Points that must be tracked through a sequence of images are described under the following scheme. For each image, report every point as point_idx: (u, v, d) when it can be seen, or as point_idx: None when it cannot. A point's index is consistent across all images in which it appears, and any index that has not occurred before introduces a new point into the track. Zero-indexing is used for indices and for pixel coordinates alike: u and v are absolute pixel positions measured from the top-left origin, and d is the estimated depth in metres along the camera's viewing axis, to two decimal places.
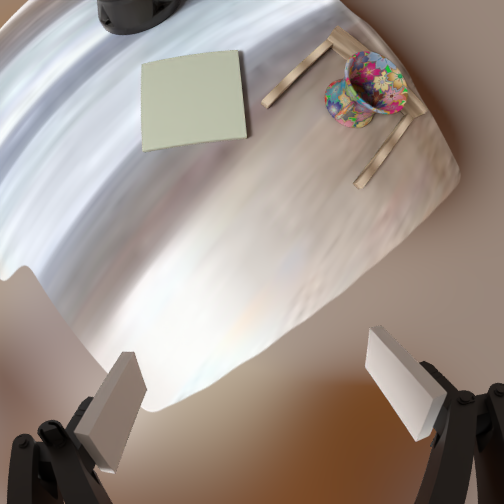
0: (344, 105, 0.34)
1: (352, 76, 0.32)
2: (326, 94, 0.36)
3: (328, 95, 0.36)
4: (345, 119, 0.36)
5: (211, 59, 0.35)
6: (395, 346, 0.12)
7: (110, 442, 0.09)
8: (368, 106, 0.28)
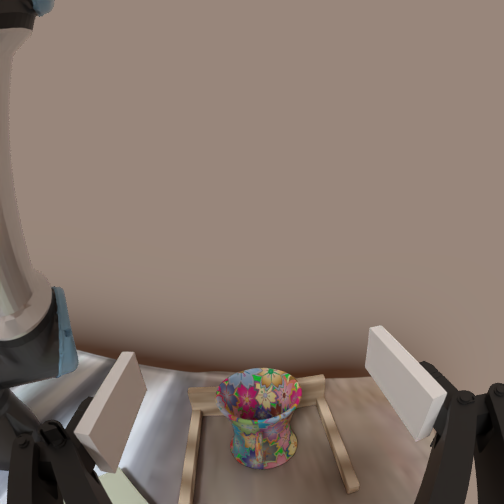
0: None
1: (238, 417, 0.29)
2: (235, 456, 0.27)
3: (237, 455, 0.27)
4: (274, 459, 0.26)
5: None
6: (395, 346, 0.12)
7: (110, 442, 0.09)
8: (273, 419, 0.23)
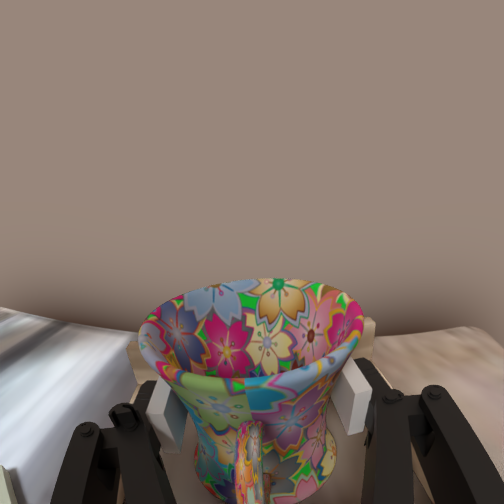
0: None
1: None
2: (202, 479, 0.11)
3: (205, 477, 0.11)
4: (290, 489, 0.10)
5: None
6: None
7: (176, 421, 0.10)
8: (296, 374, 0.07)
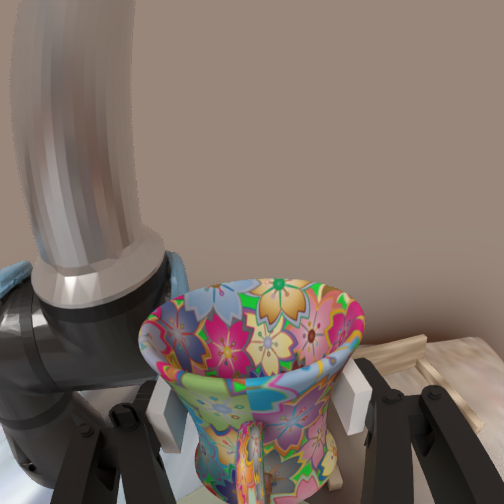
0: None
1: None
2: (202, 479, 0.11)
3: (206, 478, 0.11)
4: (290, 489, 0.10)
5: None
6: None
7: (176, 421, 0.10)
8: (297, 375, 0.07)
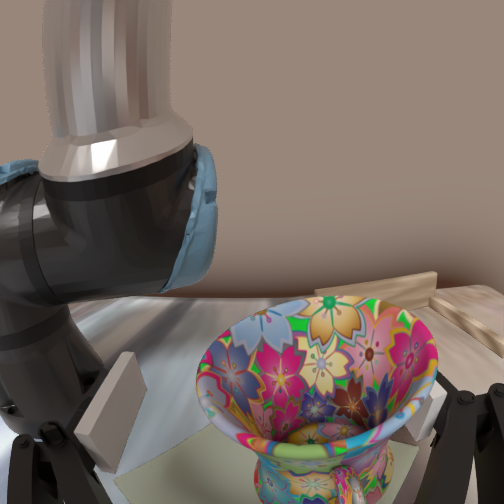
0: (326, 492, 0.08)
1: (265, 424, 0.12)
2: None
3: None
4: None
5: None
6: None
7: (110, 442, 0.09)
8: (394, 425, 0.06)
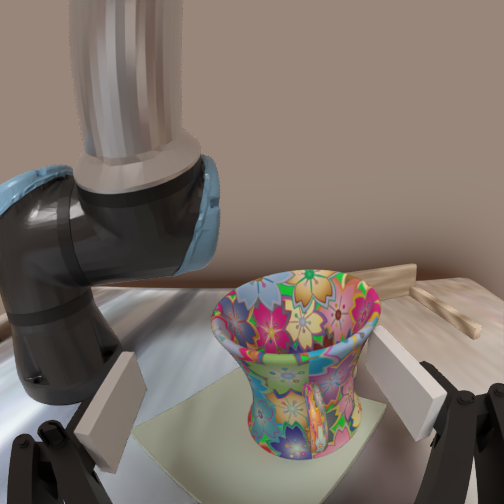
0: (302, 420, 0.14)
1: None
2: (258, 440, 0.16)
3: (261, 438, 0.16)
4: (330, 438, 0.14)
5: (234, 382, 0.25)
6: (395, 346, 0.12)
7: (110, 442, 0.09)
8: (341, 346, 0.11)
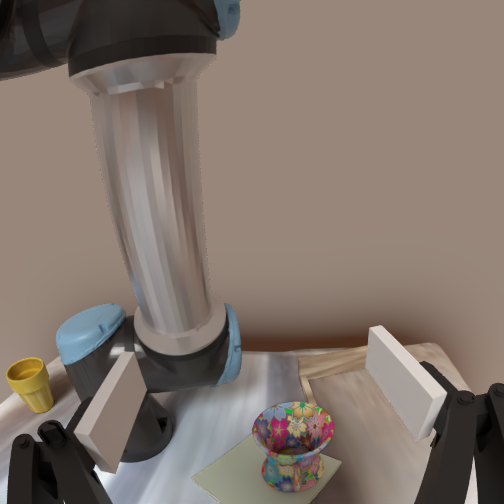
0: (291, 475, 0.25)
1: (271, 447, 0.29)
2: (267, 481, 0.27)
3: (269, 481, 0.27)
4: (304, 483, 0.25)
5: (251, 443, 0.36)
6: (395, 346, 0.12)
7: (110, 442, 0.09)
8: (310, 453, 0.23)
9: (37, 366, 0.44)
